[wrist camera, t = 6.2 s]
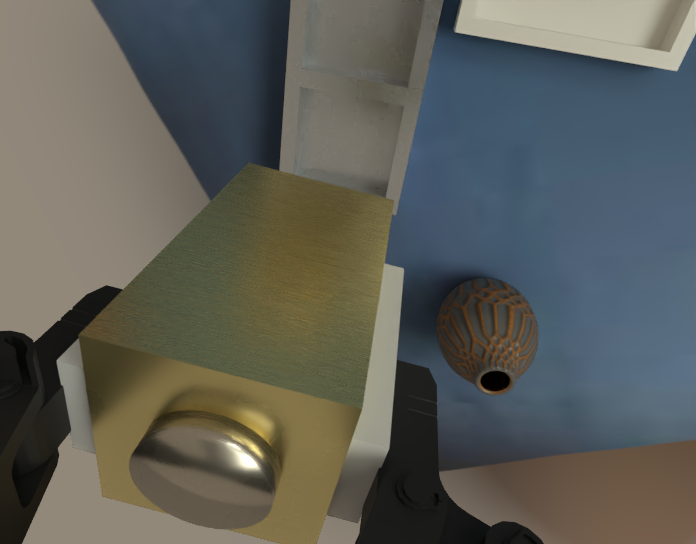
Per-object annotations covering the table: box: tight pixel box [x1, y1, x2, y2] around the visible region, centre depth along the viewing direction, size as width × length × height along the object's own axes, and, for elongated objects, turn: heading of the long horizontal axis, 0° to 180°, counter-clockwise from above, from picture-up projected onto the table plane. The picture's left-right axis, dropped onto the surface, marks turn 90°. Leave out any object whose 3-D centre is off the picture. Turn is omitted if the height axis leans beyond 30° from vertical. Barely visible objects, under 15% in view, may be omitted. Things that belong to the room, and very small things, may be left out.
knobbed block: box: [78, 163, 394, 544], centre depth 13 cm, size 5×5×10 cm
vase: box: [437, 278, 539, 396], centre depth 32 cm, size 7×7×9 cm
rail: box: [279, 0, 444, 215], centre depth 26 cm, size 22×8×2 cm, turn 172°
